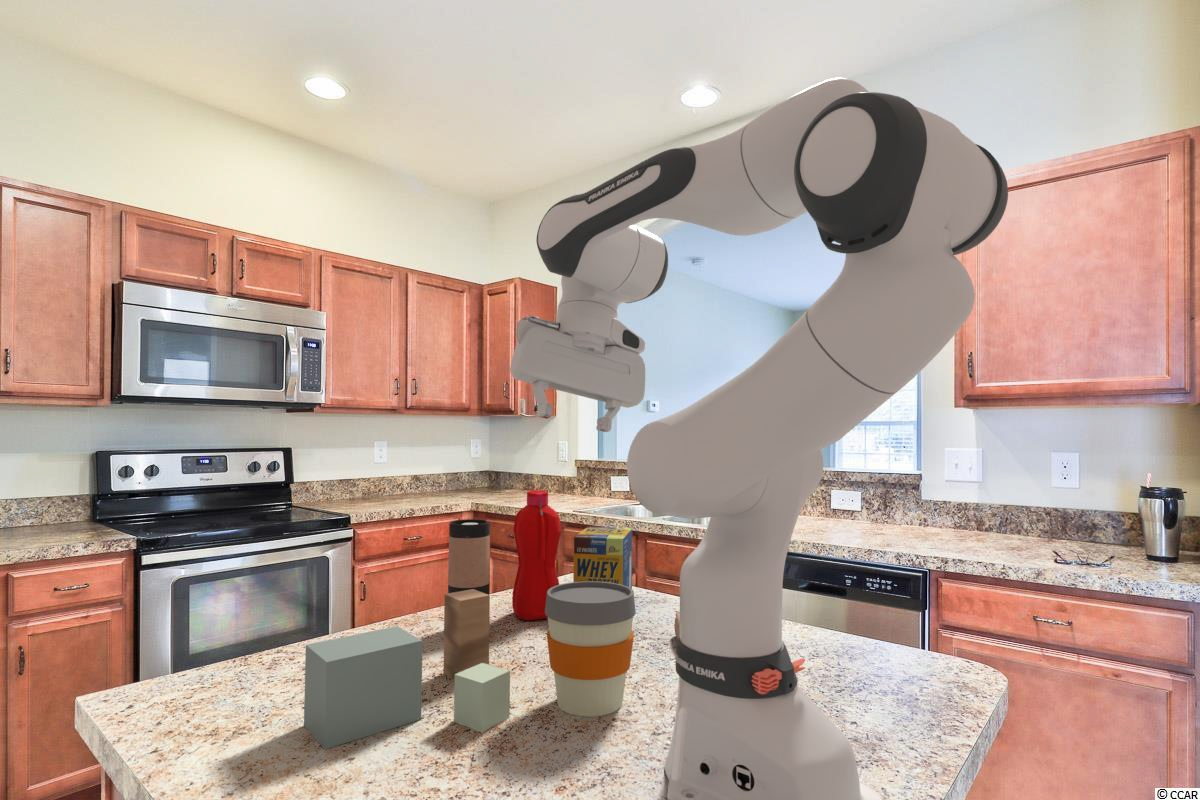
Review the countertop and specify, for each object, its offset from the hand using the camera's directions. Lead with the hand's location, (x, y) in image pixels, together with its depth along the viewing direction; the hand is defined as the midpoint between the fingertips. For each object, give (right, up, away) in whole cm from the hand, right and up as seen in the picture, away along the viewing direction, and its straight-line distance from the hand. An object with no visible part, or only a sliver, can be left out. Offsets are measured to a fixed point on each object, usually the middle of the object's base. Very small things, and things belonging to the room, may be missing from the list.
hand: (574, 424), depth 90 cm
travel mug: (-21, -40, +30) cm, 54 cm away
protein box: (+4, -41, +48) cm, 63 cm away
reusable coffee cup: (+2, -38, -1) cm, 38 cm away
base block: (-27, -38, -8) cm, 47 cm away
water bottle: (-9, -40, +39) cm, 57 cm away
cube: (-12, -38, -7) cm, 40 cm away
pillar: (-17, -39, +9) cm, 43 cm away
